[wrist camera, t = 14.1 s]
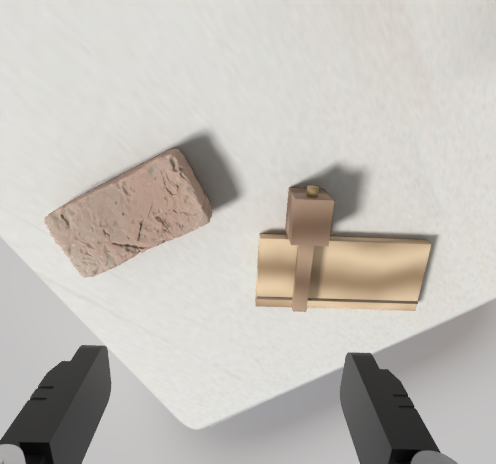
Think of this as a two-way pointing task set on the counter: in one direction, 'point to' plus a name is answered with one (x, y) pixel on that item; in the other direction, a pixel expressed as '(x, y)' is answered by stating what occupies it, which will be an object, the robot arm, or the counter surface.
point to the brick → (130, 214)
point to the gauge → (307, 234)
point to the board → (345, 273)
